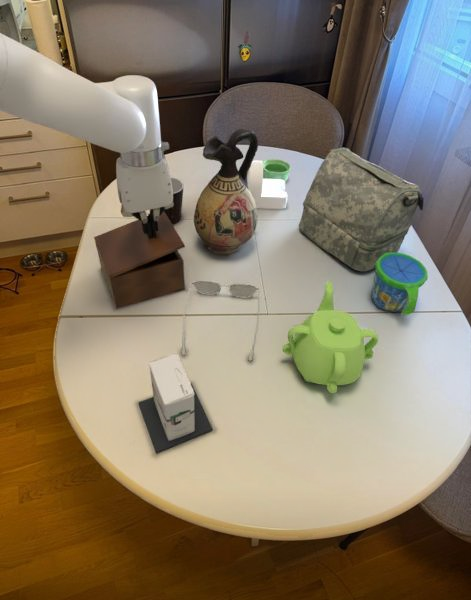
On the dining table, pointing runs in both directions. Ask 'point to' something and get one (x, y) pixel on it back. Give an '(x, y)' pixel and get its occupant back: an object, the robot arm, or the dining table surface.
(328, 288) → the teapot
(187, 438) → the mat
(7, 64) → the robot arm
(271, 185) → the bracket
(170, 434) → the ink box
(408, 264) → the sippy cup
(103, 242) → the lid
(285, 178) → the ramekin
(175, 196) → the coffee mug
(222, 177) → the ceramic jug
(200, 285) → the eyeglasses
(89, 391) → the dining table surface
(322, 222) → the lunch bag
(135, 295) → the chest
